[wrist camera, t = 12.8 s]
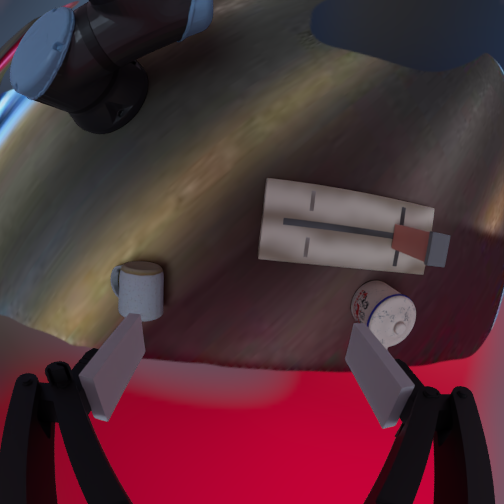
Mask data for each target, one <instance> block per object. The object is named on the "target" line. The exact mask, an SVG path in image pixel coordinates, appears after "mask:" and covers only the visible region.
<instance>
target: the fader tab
mask: <svg viewBox="0 0 504 504" xmlns="http://www.w3.org/2000/svg"><path fill="white" fill-rule="evenodd" d="M449 241H450V235H446V234H442V233H437V232H432V231H430V232H429V231H425V230H421V229H417V228H413V227H409V226H403V225H398V224H395V230H394V236H393V242H392V249H395V250H397V251H399V252H402V253H404V254H407V255H409V256H411V257H414V258H416V259H418V260H421V261H423V262H424V264H425V265H429V266H437V267H445V262H446V257H447V252H448V246H449Z"/></svg>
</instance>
